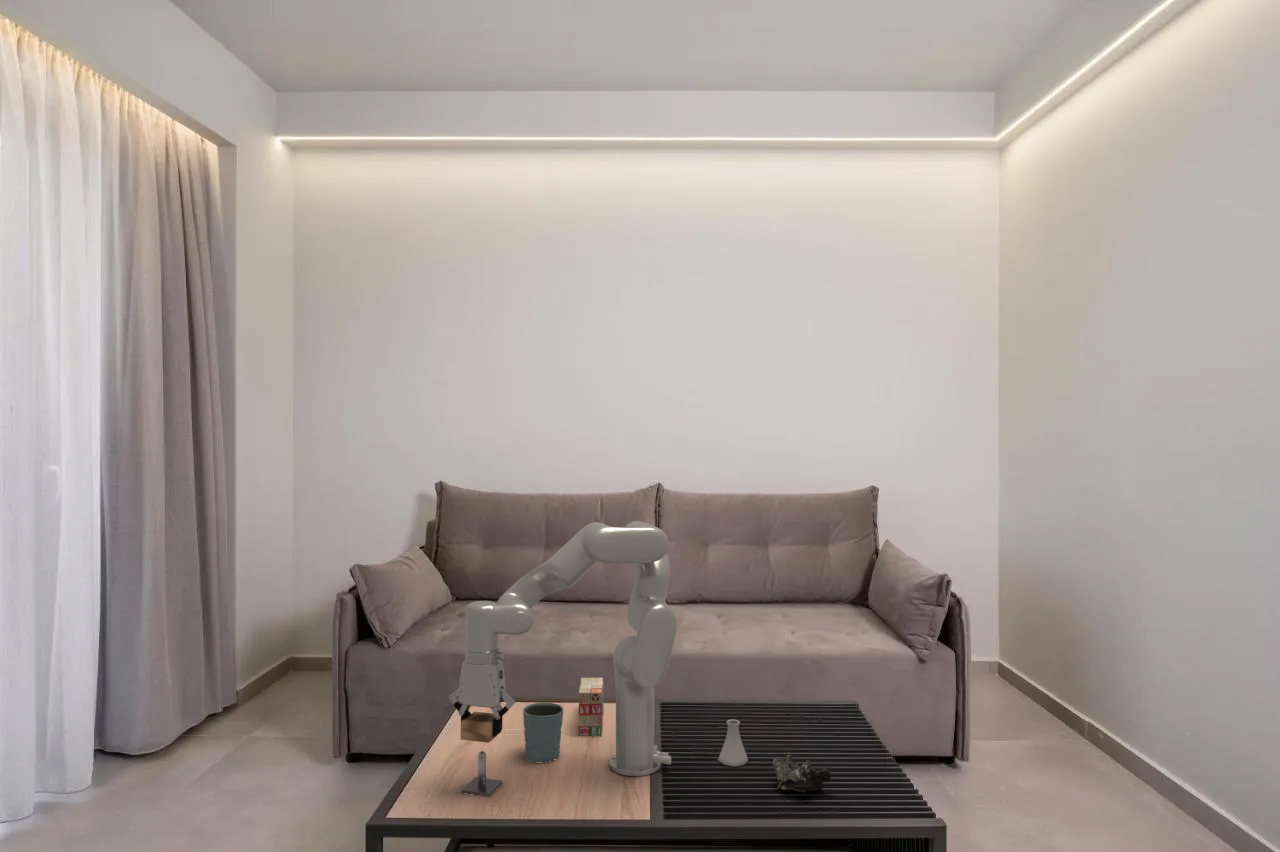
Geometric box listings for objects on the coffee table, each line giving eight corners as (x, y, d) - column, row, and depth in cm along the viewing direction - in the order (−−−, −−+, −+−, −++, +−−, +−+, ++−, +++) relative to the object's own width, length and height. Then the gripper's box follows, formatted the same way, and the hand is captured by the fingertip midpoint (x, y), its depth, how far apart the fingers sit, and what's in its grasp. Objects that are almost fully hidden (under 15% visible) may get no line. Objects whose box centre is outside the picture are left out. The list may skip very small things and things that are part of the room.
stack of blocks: (582, 709, 247) (582, 667, 246) (603, 709, 247) (603, 667, 246) (578, 737, 225) (578, 691, 225) (602, 737, 225) (602, 691, 225)
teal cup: (514, 756, 213) (514, 709, 212) (545, 744, 220) (545, 699, 220) (541, 767, 206) (541, 719, 205) (571, 755, 213) (571, 708, 213)
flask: (753, 761, 210) (753, 721, 210) (736, 770, 205) (736, 729, 205) (730, 752, 215) (730, 714, 215) (712, 761, 210) (712, 721, 210)
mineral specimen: (846, 771, 192) (820, 735, 192) (812, 811, 186) (785, 774, 186) (810, 769, 205) (786, 735, 205) (777, 806, 199) (752, 771, 199)
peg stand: (502, 783, 197) (502, 746, 197) (489, 797, 190) (489, 758, 190) (474, 780, 199) (474, 743, 198) (461, 793, 192) (461, 755, 192)
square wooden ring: (501, 731, 196) (501, 714, 196) (488, 742, 190) (489, 725, 190) (474, 728, 198) (474, 711, 198) (460, 739, 191) (460, 722, 191)
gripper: (523, 654, 195) (522, 730, 195) (455, 648, 199) (454, 723, 200) (510, 663, 188) (510, 742, 188) (439, 657, 192) (439, 734, 192)
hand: (481, 732), depth 194 cm, fingers closed on square wooden ring, 7 cm apart
